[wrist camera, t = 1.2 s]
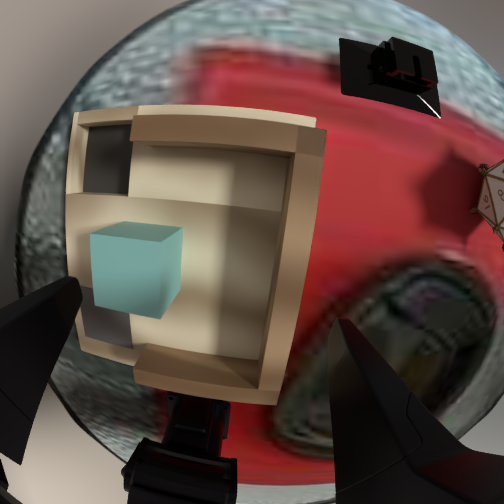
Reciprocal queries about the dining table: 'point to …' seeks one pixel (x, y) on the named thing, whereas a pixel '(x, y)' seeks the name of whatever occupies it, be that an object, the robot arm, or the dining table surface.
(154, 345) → the cubby
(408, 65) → the black box
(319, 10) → the dining table surface
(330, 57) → the dining table surface
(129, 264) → the block
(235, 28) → the dining table surface
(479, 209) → the game die
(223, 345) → the board
